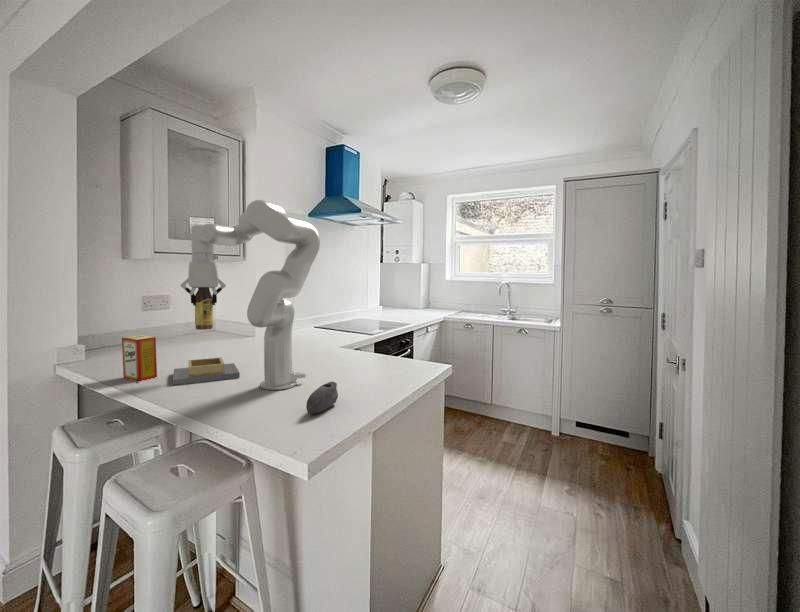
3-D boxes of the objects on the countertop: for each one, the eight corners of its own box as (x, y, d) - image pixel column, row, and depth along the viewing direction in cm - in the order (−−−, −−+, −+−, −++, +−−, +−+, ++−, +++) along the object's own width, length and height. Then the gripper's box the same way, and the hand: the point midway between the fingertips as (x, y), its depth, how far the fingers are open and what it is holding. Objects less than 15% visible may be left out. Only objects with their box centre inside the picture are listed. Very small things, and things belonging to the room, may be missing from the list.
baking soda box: (157, 377, 144) (155, 336, 143) (139, 381, 138) (137, 338, 137) (141, 374, 148) (139, 334, 147) (123, 378, 142) (121, 336, 141)
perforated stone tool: (314, 419, 104) (314, 395, 103) (299, 417, 106) (298, 392, 105) (342, 403, 118) (342, 381, 117) (328, 401, 120) (328, 379, 119)
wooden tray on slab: (234, 367, 160) (233, 355, 160) (239, 377, 145) (239, 363, 144) (174, 373, 149) (173, 360, 149) (173, 385, 134) (172, 370, 133)
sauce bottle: (205, 330, 142) (203, 278, 140) (191, 330, 143) (189, 277, 141) (217, 328, 148) (215, 277, 147) (203, 327, 150) (201, 277, 148)
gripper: (226, 259, 151) (227, 303, 152) (176, 257, 142) (178, 304, 144) (228, 258, 145) (229, 305, 146) (176, 256, 136) (178, 306, 137)
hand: (204, 304), depth 145 cm, fingers closed on sauce bottle, 6 cm apart
